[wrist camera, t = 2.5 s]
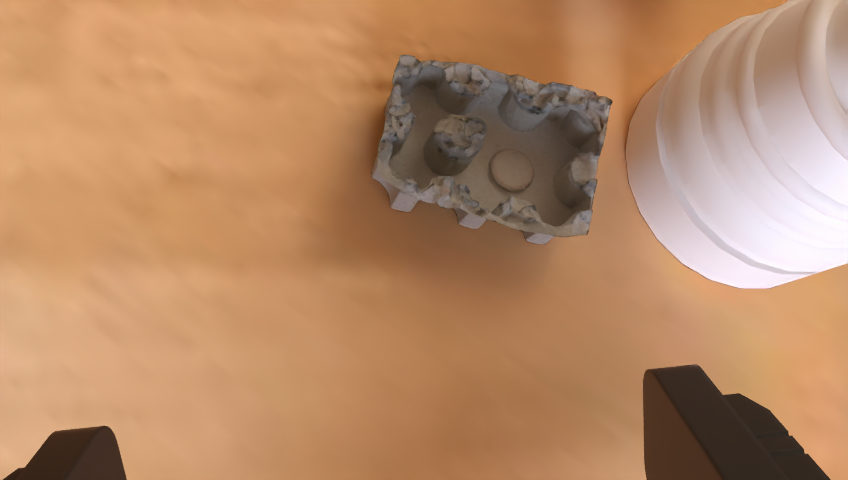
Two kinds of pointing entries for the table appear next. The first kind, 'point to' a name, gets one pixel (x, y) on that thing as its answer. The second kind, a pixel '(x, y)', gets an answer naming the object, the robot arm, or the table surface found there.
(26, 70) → the table surface
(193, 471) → the table surface
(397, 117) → the egg carton
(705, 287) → the table surface
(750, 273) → the honey pot
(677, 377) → the robot arm
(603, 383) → the table surface
